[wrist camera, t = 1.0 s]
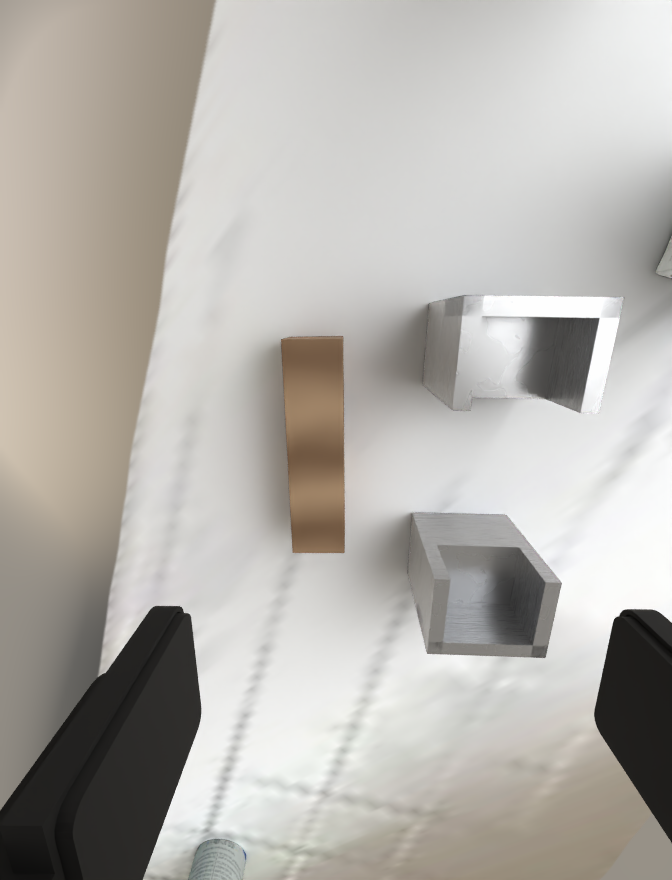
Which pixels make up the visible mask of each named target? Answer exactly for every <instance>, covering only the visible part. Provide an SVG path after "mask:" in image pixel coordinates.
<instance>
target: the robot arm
mask: <svg viewBox="0 0 672 880" xmlns="http://www.w3.org/2000/svg"><path fill="white" fill-rule="evenodd" d="M594 717H595V722H596V725H597V728H598V730H599V732H600V734H601V735H602V737H603V738H604V740H605V741H606V743H607V745H608V746H609V748H610V749H611V751H612V752H613V754H614V755H615V757H616V758H617V760H618V761H619V763H620V764H621V766H622V767H623V769H624V771H625V772H626V774H627V775H628V777H629V778H630V780H631V781H632V783H633V784H634V786H635V787H636V789H637V790H638V792H639V793H640V795H641V796H642V798H643V800H644V801H645V803H646V804H647V806H648V807H649V809H650V810H651V812H652V813H653V815H654V816H655V818H656V819H657V821H658V822H659V824H660V826H661V827H662V829H663V830H664V831H665V833H666V835H667V836H668V838H669V839H670V840H671V842H672V623H671V622H670V621H669V620H668V619H667V618H665V617H664V616H663V615H662V614H661V613H659V612H658V611H655V610H640V609H627V610H623V611H622V612H621V613H620V616H619V617H616V618H615V619H614V622H613V626H612V630H611V635H610V640H609V645H608V649H607V654H606V659H605V664H604V668H603V673H602V678H601V683H600V687H599V692H598V697H597V702H596V706H595V712H594ZM200 719H201V701H200V692H199V683H198V674H197V666H196V657H195V648H194V640H193V631H192V622H191V616H190V614H188V613H184V612H183V609H182V607H180V606H155V607H153V608H152V609H151V610H150V611H149V612H148V614H147V615H146V617H145V618H144V620H143V621H142V622H141V624H140V625H139V627H138V628H137V630H136V631H135V632H134V634H133V635H132V637H131V638H130V639H129V641H128V642H127V644H126V645H125V647H124V648H123V649H122V651H121V652H120V654H119V655H118V656H117V658H116V659H115V661H114V662H113V664H112V665H111V666H110V668H109V669H108V671H107V672H106V673H104V674H102V675H101V676H99V677H98V678H97V679H96V680H95V681H94V682H93V683H92V684H91V686H90V687H89V689H88V690H87V691H86V693H85V694H84V695H83V697H82V698H81V700H80V701H79V703H78V704H77V705H76V707H75V708H74V709H73V711H72V712H71V713H70V715H69V716H68V718H67V719H66V720H65V722H64V723H63V725H62V726H61V728H60V729H59V730H58V731H57V733H56V734H55V736H54V737H53V738H52V740H51V741H50V743H49V744H48V745H47V747H46V748H45V750H44V751H43V752H42V754H41V755H40V756H39V758H38V759H37V761H36V762H35V764H34V765H33V766H32V767H31V769H30V770H29V772H28V773H27V774H26V776H25V777H24V779H23V780H22V781H21V783H20V784H19V785H18V787H17V788H16V790H15V791H14V792H13V794H12V795H11V797H10V798H9V799H8V801H7V802H6V804H5V805H4V806H3V808H2V809H1V810H0V880H143V877H144V874H145V872H146V869H147V866H148V864H149V861H150V858H151V855H152V853H153V850H154V847H155V845H156V842H157V839H158V836H159V834H160V831H161V828H162V826H163V823H164V820H165V817H166V815H167V812H168V809H169V806H170V804H171V801H172V798H173V796H174V793H175V790H176V787H177V785H178V782H179V779H180V777H181V774H182V771H183V768H184V766H185V763H186V760H187V757H188V755H189V752H190V749H191V747H192V744H193V741H194V738H195V736H196V733H197V730H198V727H199V724H200Z"/></svg>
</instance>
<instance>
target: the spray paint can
mask: <svg viewBox="0 0 672 880" xmlns="http://www.w3.org/2000/svg"><path fill="white" fill-rule="evenodd" d="M245 864H246V854H245V852H244V850H243V849H242V848H241V847H240V846H239V845H237V844H235V843H233V842H231V841H228V840H222V839H214V840H209V841H206V842H204V843H203V844H201V845H200V846H199V848H198V850H197V852H196V854H195V858H194V861H193V865H192V868H191V872H190V875H189V878H188V880H243V875H244V870H245Z"/></svg>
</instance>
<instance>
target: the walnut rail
mask: <svg viewBox="0 0 672 880" xmlns="http://www.w3.org/2000/svg"><path fill="white" fill-rule="evenodd" d="M281 346H282V365H283V383H284V401H285V420H286V438H287V456H288V475H289V493H290V511H291V530H292V548H293V553H344V548H345V490H344V380H343V336H318V337H288V338H285V339H281Z"/></svg>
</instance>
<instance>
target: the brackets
mask: <svg viewBox="0 0 672 880" xmlns="http://www.w3.org/2000/svg"><path fill="white" fill-rule="evenodd" d="M623 301H624V297H563V296H488V295H463V296H459V297H454V298H449V299H445V300H440V301H436V302H431V303H429V311H428V323H427V336H426V348H425V361H424V373H423V386H425V387H426V388H427V389H428V390H429V391H430V392H432V393H433V394H434V395H435V396H436V397H437V398H439V399H440V400H441V401H442V402H443V403H444V404H446V405H447V406H448V407H449V408H450V409H451V410H455V411H471V403H472V398H519V399H546V400H549V401H551V402H554V403H556V404H559V405H561V406H564V407H567V408H569V409H572V410H574V411H577V412H579V413H599V411H600V406H601V402H602V397H603V392H604V388H605V383H606V379H607V374H608V370H609V365H610V360H611V356H612V351H613V347H614V342H615V338H616V333H617V328H618V324H619V319H620V315H621V310H622V306H623ZM408 576H409V580H410V585H411V589H412V593H413V597H414V601H415V606H416V610H417V614H418V618H419V622H420V627H421V631H422V635H423V639H424V643H425V648H426V652H427V654H450V655H479V656H507V657H536V658H545V657H546V653H547V648H548V644H549V639H550V635H551V630H552V625H553V621H554V616H555V612H556V607H557V603H558V598H559V593H560V589H561V584H562V583H561V581H560V580H559V579H558V578H557V576H556V575H555V574H554V573H553V572H552V570H551V569H550V568H549V567H548V565H547V564H546V563H545V562H544V561H543V559H542V558H541V557H540V556H539V554H538V553H537V552H536V551H535V549H534V548H533V547H532V546H531V545H530V543H529V542H528V541H527V540H526V538H525V537H524V536H523V535H522V534H521V532H520V531H519V530H518V529H517V527H516V526H515V525H514V524H513V523H512V521H511V520H510V519H509V518H508V516H507V515H490V514H452V513H414V512H412V523H411V535H410V548H409V560H408Z"/></svg>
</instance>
